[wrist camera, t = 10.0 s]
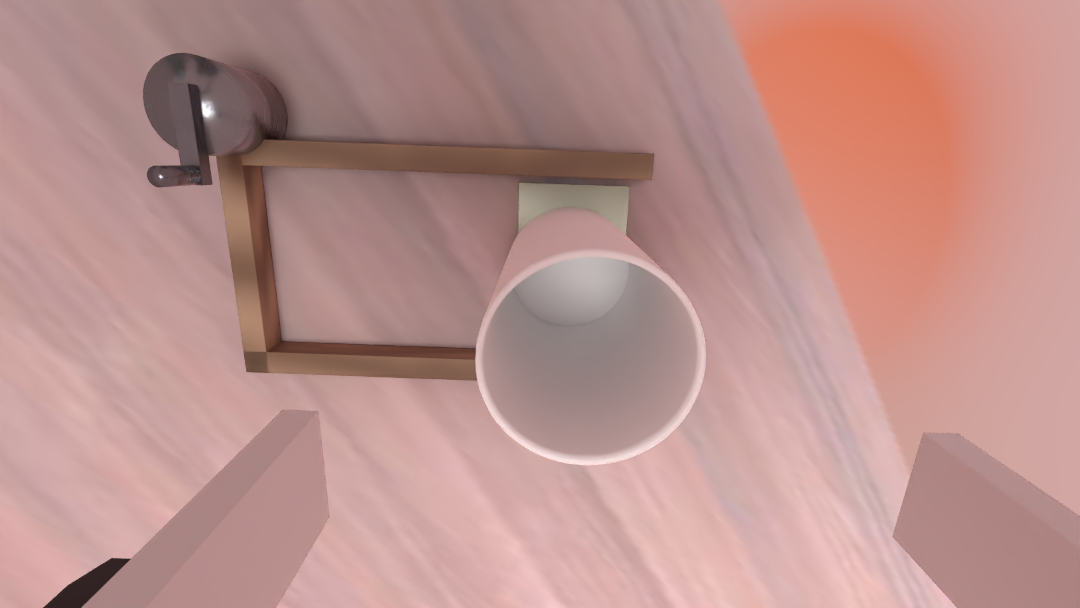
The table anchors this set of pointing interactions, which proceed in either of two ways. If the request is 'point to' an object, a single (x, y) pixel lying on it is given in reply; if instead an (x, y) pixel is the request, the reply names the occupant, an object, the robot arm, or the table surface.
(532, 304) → the cup
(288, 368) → the frame
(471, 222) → the table surface
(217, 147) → the winch drum
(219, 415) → the table surface
